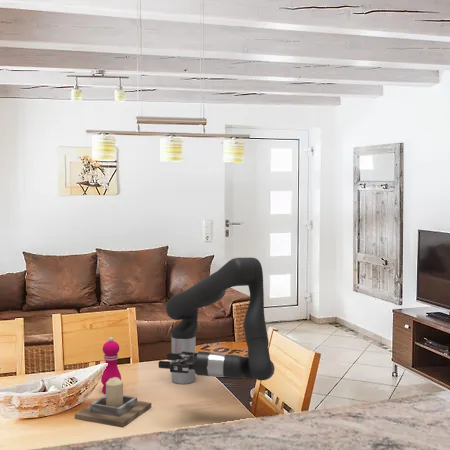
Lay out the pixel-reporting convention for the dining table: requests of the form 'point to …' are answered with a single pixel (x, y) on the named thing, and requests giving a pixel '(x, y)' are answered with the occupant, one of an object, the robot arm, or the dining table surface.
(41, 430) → the dining table surface
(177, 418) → the dining table surface
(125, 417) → the board
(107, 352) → the pepper mill
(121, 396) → the candle
